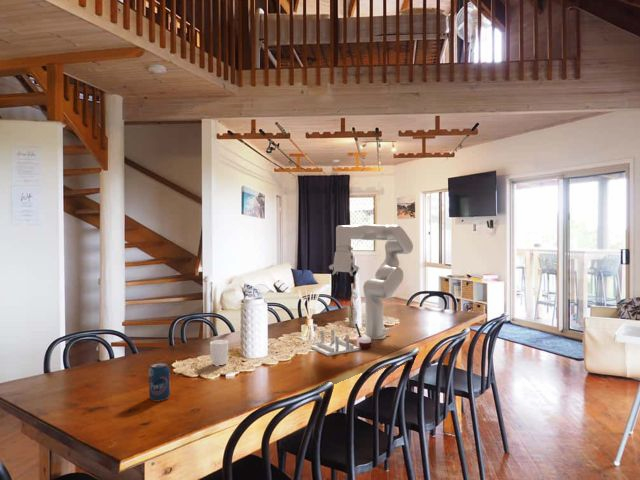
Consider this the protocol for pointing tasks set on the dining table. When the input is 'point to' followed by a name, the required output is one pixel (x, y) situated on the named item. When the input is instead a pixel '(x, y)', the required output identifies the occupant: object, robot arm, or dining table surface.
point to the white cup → (219, 351)
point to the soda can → (159, 381)
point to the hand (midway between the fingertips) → (343, 282)
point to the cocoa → (364, 340)
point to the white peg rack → (334, 345)
